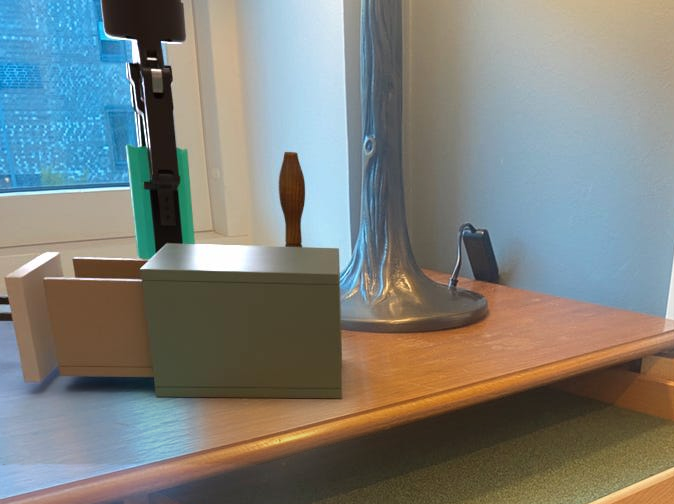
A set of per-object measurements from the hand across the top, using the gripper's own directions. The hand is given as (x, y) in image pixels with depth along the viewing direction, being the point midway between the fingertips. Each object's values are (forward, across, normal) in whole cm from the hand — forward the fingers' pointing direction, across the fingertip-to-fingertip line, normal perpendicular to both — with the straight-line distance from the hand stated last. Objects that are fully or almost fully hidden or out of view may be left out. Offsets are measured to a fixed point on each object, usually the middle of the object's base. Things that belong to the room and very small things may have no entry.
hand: (166, 253), depth 102 cm
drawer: (+5, +27, -9) cm, 29 cm away
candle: (+1, 0, 0) cm, 1 cm away
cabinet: (+5, +30, +4) cm, 31 cm away
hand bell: (+5, +10, +12) cm, 16 cm away
